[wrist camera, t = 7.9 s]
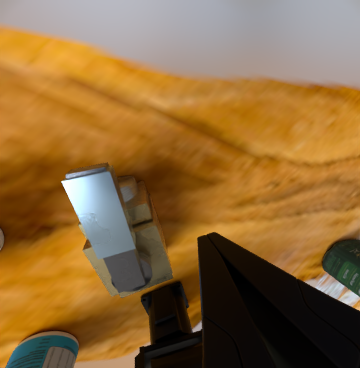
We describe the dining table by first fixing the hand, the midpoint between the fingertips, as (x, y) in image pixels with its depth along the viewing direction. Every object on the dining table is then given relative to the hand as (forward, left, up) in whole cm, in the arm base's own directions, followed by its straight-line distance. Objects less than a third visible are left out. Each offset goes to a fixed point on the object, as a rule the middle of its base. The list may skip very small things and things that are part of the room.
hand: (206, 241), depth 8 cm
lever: (-2, +5, -6) cm, 8 cm away
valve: (-6, +5, -13) cm, 15 cm away
